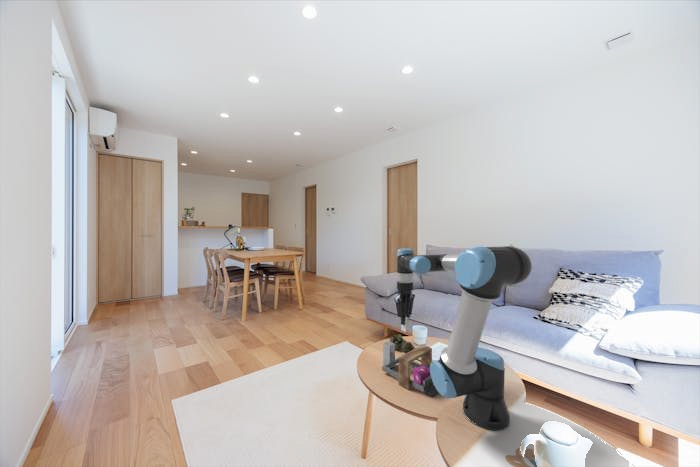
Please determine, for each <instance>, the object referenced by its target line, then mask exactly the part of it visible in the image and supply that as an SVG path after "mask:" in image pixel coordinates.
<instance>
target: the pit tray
mask: <svg viewBox="0 0 700 467" xmlns="http://www.w3.org/2000/svg"><path fill="white" fill-rule="evenodd" d="M424 394H425V395H428V396H429V397H431V398H434V397H436V395H438V394H440V393H439V392H438V391H437V389H436V388H435V386H434V385H432V386H431V387H429V388H428V389H427V390H425V391H424Z"/></svg>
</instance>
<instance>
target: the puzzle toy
mask: <svg viewBox="0 0 700 467" xmlns="http://www.w3.org/2000/svg"><path fill="white" fill-rule="evenodd" d="M430 375H431V374H430V370H429V369H427V368H426V367H425V366H422V367H417V368H416V367H413V380H414V381H416V382H418V383H420V384H422V385H423V380H424V379H426V378H427V377H429V376H430Z"/></svg>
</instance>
